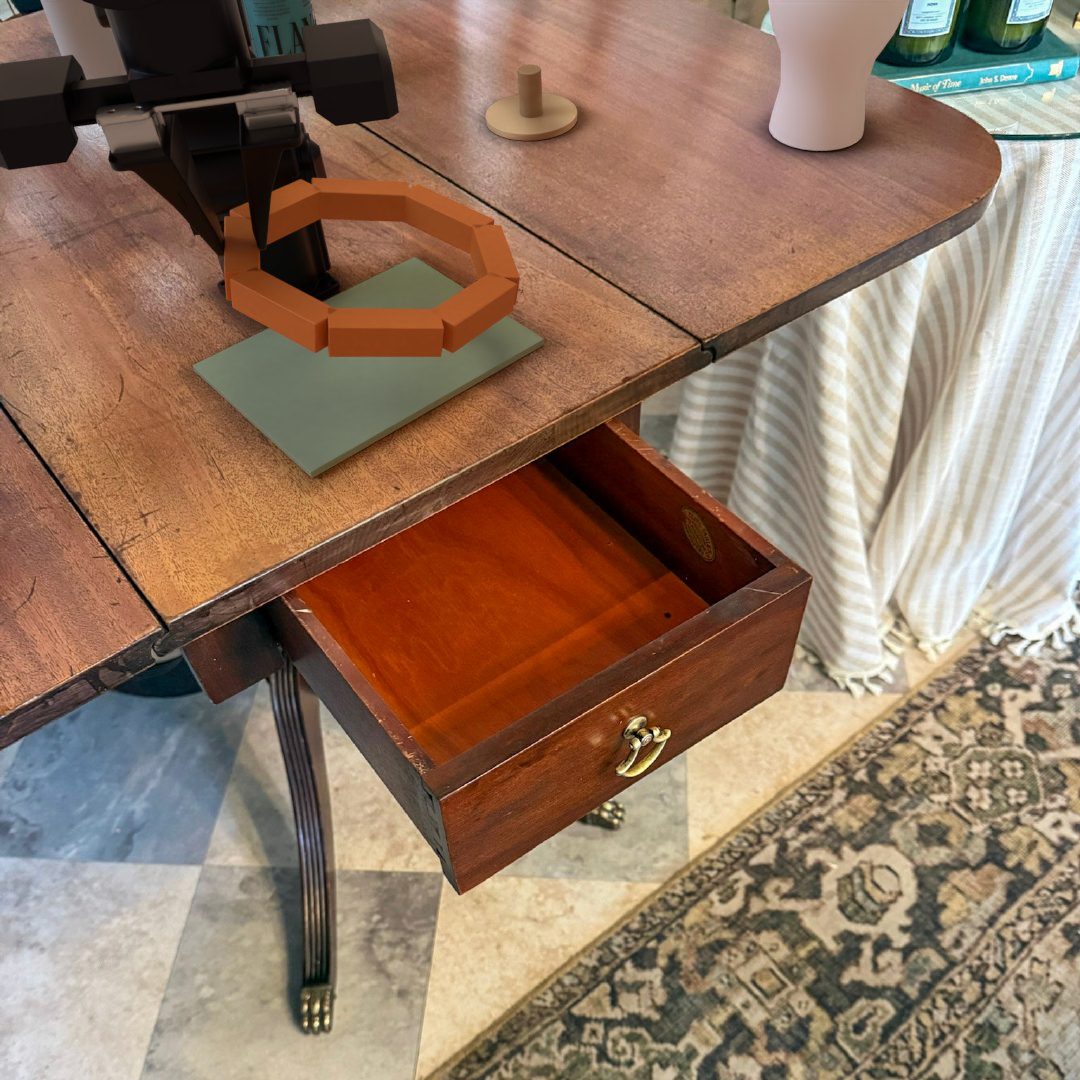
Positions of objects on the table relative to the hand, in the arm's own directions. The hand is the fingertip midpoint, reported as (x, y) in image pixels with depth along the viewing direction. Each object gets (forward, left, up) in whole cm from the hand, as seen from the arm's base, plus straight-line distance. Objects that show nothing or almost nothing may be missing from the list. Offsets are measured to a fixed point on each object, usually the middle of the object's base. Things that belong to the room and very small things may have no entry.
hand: (242, 249), depth 54 cm
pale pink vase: (+51, -1, -11) cm, 52 cm away
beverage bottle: (+26, +41, -11) cm, 50 cm away
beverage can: (+11, +49, -11) cm, 52 cm away
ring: (+6, -3, -3) cm, 7 cm away
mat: (+6, 0, -11) cm, 13 cm away
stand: (+36, +18, -11) cm, 42 cm away
